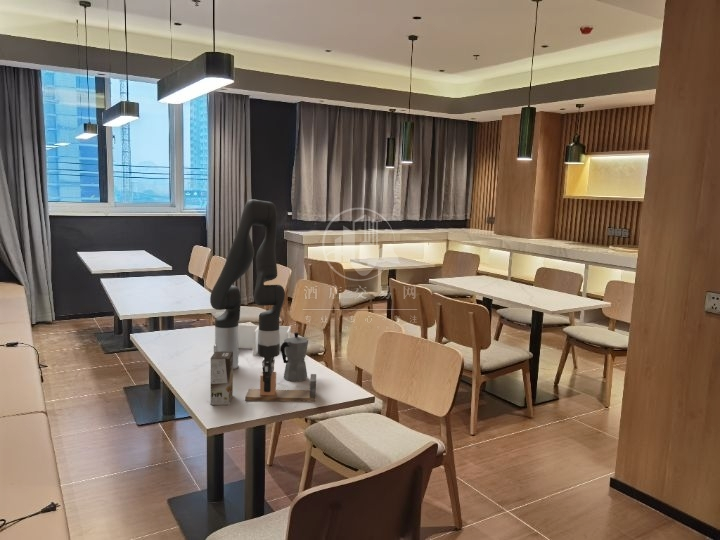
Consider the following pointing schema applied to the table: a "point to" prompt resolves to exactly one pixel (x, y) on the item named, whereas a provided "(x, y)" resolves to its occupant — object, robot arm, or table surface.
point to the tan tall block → (273, 384)
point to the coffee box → (221, 378)
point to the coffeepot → (294, 358)
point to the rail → (286, 394)
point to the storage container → (250, 336)
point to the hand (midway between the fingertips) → (268, 388)
